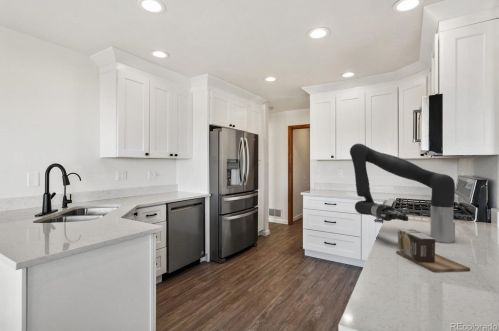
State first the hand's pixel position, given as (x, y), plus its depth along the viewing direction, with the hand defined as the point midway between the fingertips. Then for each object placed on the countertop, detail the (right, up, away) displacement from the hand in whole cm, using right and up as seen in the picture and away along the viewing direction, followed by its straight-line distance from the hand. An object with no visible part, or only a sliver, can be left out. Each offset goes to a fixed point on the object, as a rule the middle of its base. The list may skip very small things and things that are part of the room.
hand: (406, 218), depth 115 cm
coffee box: (-1, -9, -1) cm, 9 cm away
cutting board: (+1, -14, -13) cm, 19 cm away
